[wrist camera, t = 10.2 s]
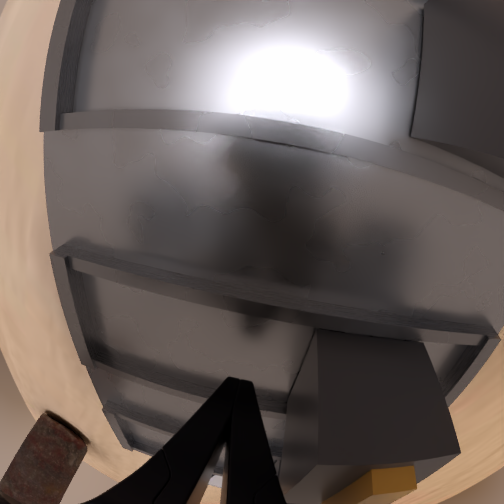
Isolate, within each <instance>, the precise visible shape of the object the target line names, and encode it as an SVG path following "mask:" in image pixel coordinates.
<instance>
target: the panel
mask: <svg viewBox="0 0 504 504" xmlns="http://www.w3.org/2000/svg"><path fill="white" fill-rule="evenodd" d="M427 1H428V0H61V1H60V5H59V8H58V11H57V15H56V19H55V22H54V26H53V30H52V35H51V39H50V44H49V49H48V54H47V60H46V66H45V72H44V80H43V88H42V97H41V110H40V130H39V132H44V177H45V193H46V204H47V213H48V221H49V229H50V236H51V242H52V248H53V251H52V252H51V253H50V259H51V264H52V268H53V273H54V277H55V282H56V286H57V290H58V294H59V297H60V301H61V305H62V308H63V312H64V315H65V318H66V321H67V325H68V328H69V331H70V334H71V337H72V340H73V342H74V345H75V348H76V351H77V353H78V356H79V359H80V361H81V364H83V365H85V366H86V368H87V371H88V373H89V376H90V378H91V380H92V383H93V385H94V387H95V390H96V392H97V394H98V396H99V399H100V401H101V403H102V405H103V409H102V411H103V413H104V415H105V416H106V418H107V420H108V422H109V424H110V426H111V428H112V430H113V431H114V433H115V435H116V437H117V438H118V440H119V442H120V444H121V445H122V447H123V448H125V449H128V450H130V451H133V449H134V450H136V451H139V452H141V453H144V454H147V455H149V456H154V455H155V454H156V453H157V452H158V451H159V450H160V449H162V447H163V446H164V445H165V444H166V443H167V442H168V441H169V440H170V439H171V438H172V436H173V435H174V434H175V433H176V432H177V431H178V430H179V429H180V428H181V427H182V426H183V425H184V424H185V423H186V422H187V421H188V420H189V419H190V418H191V416H192V415H193V414H194V413H195V412H196V411H197V410H198V409H199V408H200V407H201V406H202V405H203V403H204V402H205V401H206V400H207V399H208V398H209V397H210V396H211V395H212V393H213V392H214V391H215V390H216V389H217V388H218V387H219V386H220V384H221V383H222V382H223V381H224V380H225V379H226V378H227V377H229V376H231V377H235V378H239V379H244V380H249V381H252V382H253V384H254V388H255V392H256V396H257V400H258V404H259V408H260V412H261V416H262V420H263V424H264V427H265V431H266V435H267V439H268V443H269V446H270V450H271V454H272V457H273V461H274V465H275V463H276V462H277V460H282V451H283V442H284V433H285V423H286V412H287V401H288V398H289V396H290V393H291V391H292V389H293V386H294V384H295V382H296V379H297V377H298V375H299V372H300V370H301V367H302V365H303V362H304V360H305V357H306V355H307V352H308V350H309V347H310V344H311V342H312V339H313V336H314V334H315V331H316V329H322V330H329V331H335V332H342V333H349V334H356V335H363V336H371V337H379V338H387V339H396V340H405V341H415V342H423V343H424V345H425V347H426V350H427V352H428V355H429V357H430V360H431V362H432V365H433V367H434V370H435V372H436V375H437V378H438V380H439V383H440V386H441V389H442V391H443V394H444V397H445V400H446V403H447V406H448V407H449V406H450V405H451V404H452V403H453V402H454V400H455V399H456V398H457V397H458V396H459V395H460V394H461V392H462V391H463V390H464V389H465V388H466V387H467V385H468V384H469V383H470V382H471V380H472V379H473V378H474V377H475V375H476V374H477V373H478V371H479V370H480V369H481V368H482V366H483V365H484V364H485V362H486V361H487V359H488V358H489V357H490V355H491V354H492V352H493V351H494V349H495V348H496V346H497V345H498V343H499V342H500V340H501V338H500V337H499V335H498V333H499V332H500V330H501V329H502V327H503V325H504V178H502V177H500V176H498V175H497V174H495V173H493V172H491V171H489V170H487V169H485V168H483V167H481V166H479V165H477V164H475V163H473V162H471V161H469V160H466V159H464V158H462V157H460V156H457V155H455V154H453V153H451V152H448V151H446V150H443V149H441V148H439V147H436V146H434V145H431V144H428V143H426V142H423V141H421V140H418V139H415V138H412V137H411V132H412V127H413V121H414V115H415V109H416V103H417V96H418V88H419V80H420V71H421V60H422V48H423V28H424V4H425V3H426V2H427ZM225 446H226V442H225V445H224V447H223V450H222V452H221V455H220V457H219V460H218V462H217V464H216V467H215V469H214V472H213V475H218V476H222V477H223V468H224V457H225Z"/></svg>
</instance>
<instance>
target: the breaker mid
mask: <svg viewBox="0 0 504 504" xmlns="http://www.w3.org/2000/svg"><path fill="white" fill-rule="evenodd" d="M460 453H461V451H460V447H459V443H458V439H457V436H456V432H455V429H454V425H453V422H452V419H451V415H450V412H449V409H448V406H447V403H446V400H445V397H444V394H443V391H442V389H441V386H440V383H439V380H438V378H437V375H436V372H435V370H434V367H433V365H432V362H431V360H430V357H429V355H428V352H427V350H426V347H425V345H424V343H423V342H415V341H405V340H396V339H387V338H379V337H371V336H363V335H356V334H349V333H342V332H335V331H329V330H322V329H316V331H315V334H314V336H313V339H312V342H311V344H310V347H309V350H308V352H307V355H306V357H305V360H304V362H303V365H302V367H301V370H300V372H299V375H298V377H297V379H296V382H295V384H294V386H293V389H292V391H291V393H290V396H289V398H288V401H287V412H286V423H285V433H284V442H283V451H282V460H281V468H280V476H279V482H280V486H281V489H282V492H283V495H284V498H285V500H286V503H293V504H390V503H392V502H394V501H396V500H398V499H400V498H402V497H403V496H405V495H407V494H409V493H411V492H413V491H414V490H416V489H417V483H419V482H420V481H422V480H424V479H425V478H427V477H428V476H430V475H431V474H433V473H434V472H436V471H437V470H439V469H440V468H441V467H443V466H444V465H446V464H447V463H448V462H450V461H451V460H452V459H454V458H455V457H456V456H458V455H459V454H460Z"/></svg>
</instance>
